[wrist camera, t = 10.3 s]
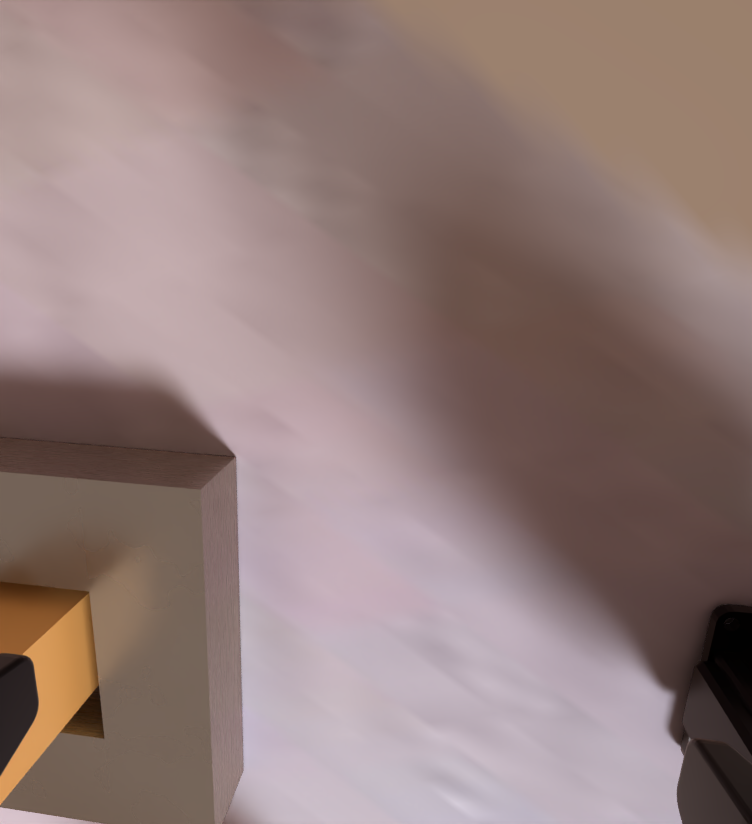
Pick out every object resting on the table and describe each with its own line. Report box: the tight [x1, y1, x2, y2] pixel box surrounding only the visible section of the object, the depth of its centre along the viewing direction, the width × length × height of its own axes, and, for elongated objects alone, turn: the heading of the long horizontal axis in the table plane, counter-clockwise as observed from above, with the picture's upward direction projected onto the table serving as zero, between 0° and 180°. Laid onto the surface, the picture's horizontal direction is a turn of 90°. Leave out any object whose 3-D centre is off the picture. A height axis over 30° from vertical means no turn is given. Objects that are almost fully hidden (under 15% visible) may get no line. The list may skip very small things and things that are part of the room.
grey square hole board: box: [0, 437, 243, 824], centre depth 21 cm, size 14×14×3 cm
